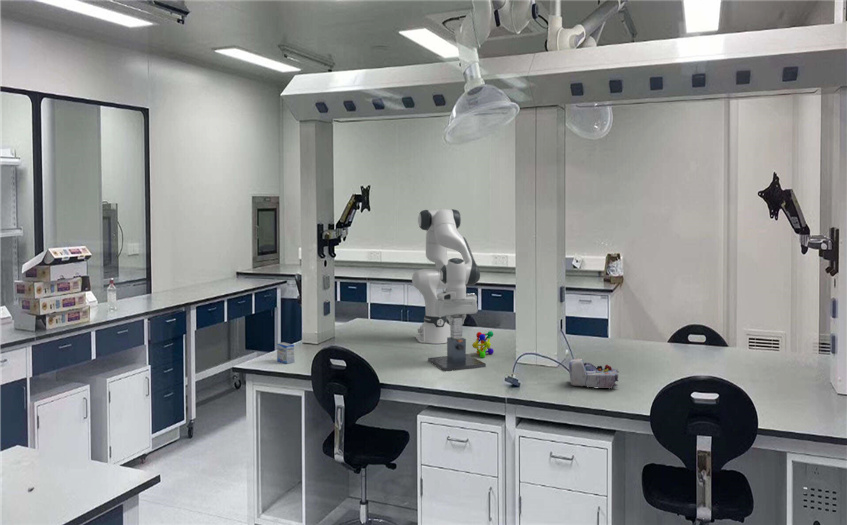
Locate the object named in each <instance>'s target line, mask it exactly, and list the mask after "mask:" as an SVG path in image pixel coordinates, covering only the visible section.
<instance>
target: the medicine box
mask: <svg viewBox="0 0 847 525" xmlns="http://www.w3.org/2000/svg"><path fill="white" fill-rule="evenodd" d="M276 358H277V359H276V360H277V362H278V363H281V364H285V365H290V364H293V363H295V344H292V343H288V342H286V341H285V342H283V341H282V342H279V343H276Z"/></svg>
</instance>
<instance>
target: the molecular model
mask: <svg viewBox="0 0 847 525" xmlns="http://www.w3.org/2000/svg"><path fill="white" fill-rule="evenodd" d="M492 337H494V332H493V331H492V330H489V331H488V332H487V333H482V332H481V331H478V332H476V339H475V341H474V342H472V348H474V349H476V354H477V356H479V357H480V358H481V359H484V358H485V357H486V353H488V355H493V354H494V353H495V352H494V349H493V348H491V346H492V343H491V342H490V341H491V338H492Z"/></svg>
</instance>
